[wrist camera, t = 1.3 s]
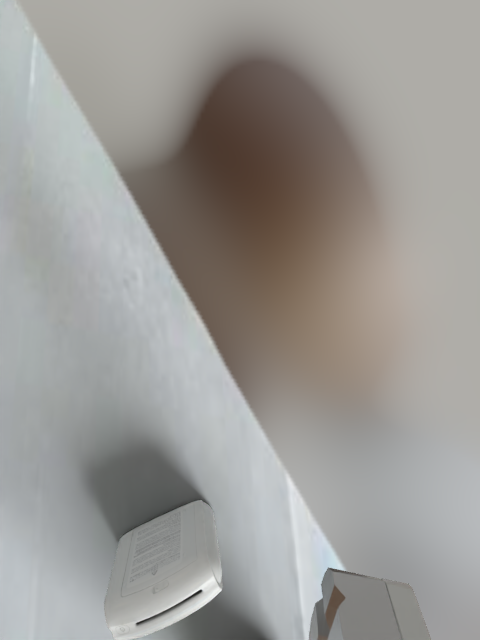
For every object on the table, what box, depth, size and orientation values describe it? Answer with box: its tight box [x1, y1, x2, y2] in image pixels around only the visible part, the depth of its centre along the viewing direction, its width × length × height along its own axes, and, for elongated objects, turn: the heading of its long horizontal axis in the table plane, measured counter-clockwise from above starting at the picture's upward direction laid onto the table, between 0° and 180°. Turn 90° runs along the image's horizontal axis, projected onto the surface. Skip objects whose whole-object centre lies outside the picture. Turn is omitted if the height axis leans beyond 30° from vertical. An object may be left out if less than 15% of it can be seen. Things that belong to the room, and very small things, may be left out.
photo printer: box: [104, 500, 223, 640], centre depth 42 cm, size 10×4×12 cm, turn 113°
